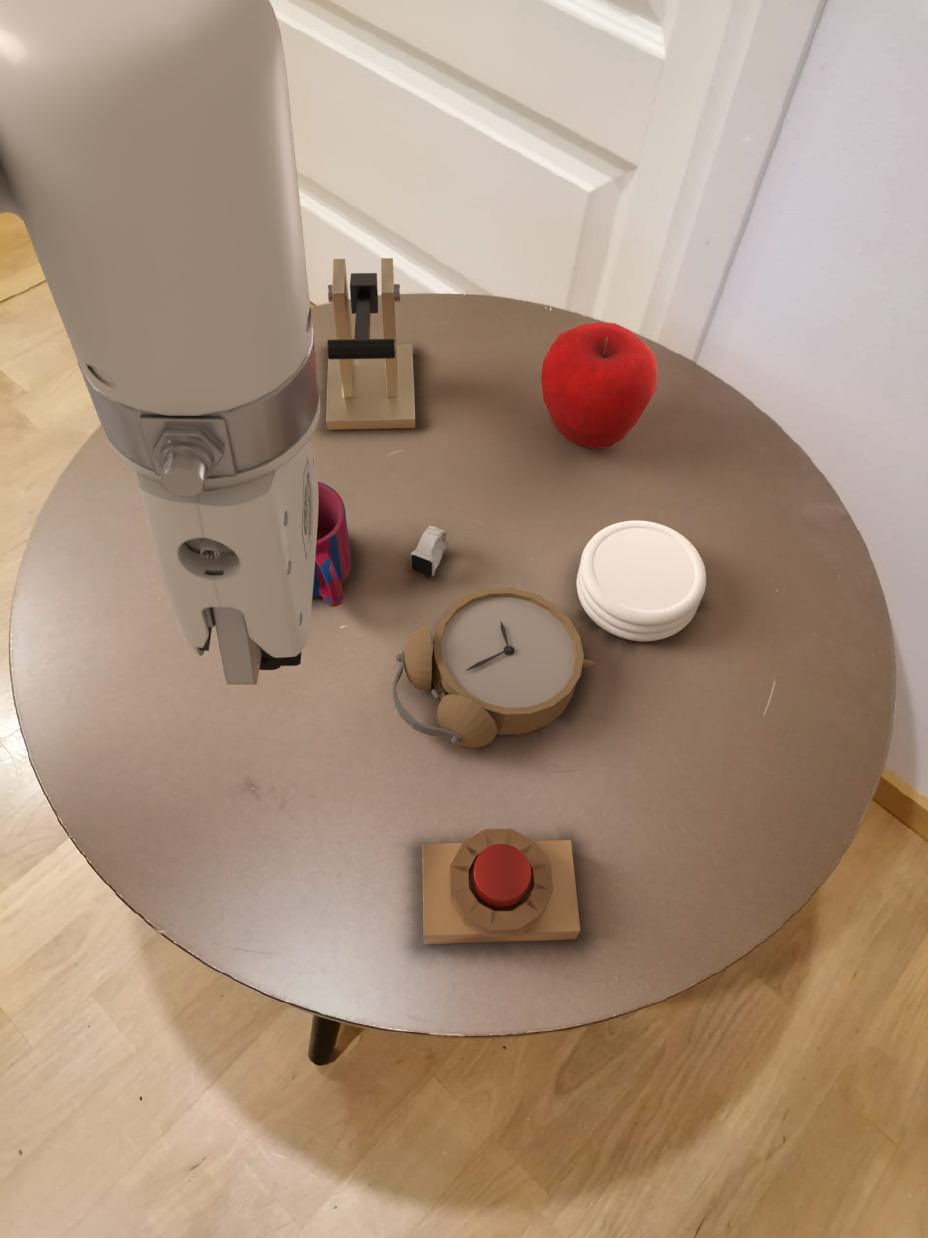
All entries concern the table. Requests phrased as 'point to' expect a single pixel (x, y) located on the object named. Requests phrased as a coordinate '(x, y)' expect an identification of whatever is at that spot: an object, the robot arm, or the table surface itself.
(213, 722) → the table surface
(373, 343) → the lever
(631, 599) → the coaster
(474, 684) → the alarm clock
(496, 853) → the button
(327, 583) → the mug
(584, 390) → the apple
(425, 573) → the smartwatch
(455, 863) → the button block
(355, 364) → the bracket
